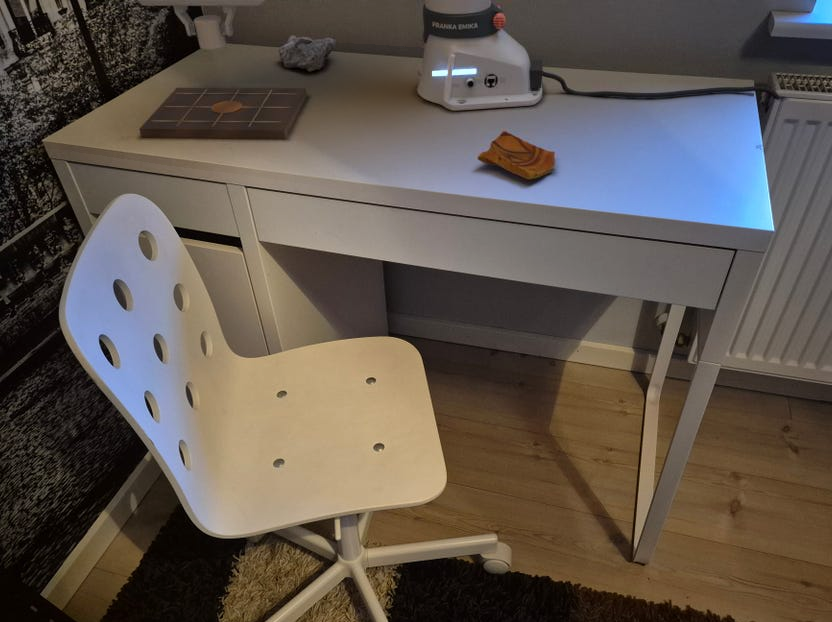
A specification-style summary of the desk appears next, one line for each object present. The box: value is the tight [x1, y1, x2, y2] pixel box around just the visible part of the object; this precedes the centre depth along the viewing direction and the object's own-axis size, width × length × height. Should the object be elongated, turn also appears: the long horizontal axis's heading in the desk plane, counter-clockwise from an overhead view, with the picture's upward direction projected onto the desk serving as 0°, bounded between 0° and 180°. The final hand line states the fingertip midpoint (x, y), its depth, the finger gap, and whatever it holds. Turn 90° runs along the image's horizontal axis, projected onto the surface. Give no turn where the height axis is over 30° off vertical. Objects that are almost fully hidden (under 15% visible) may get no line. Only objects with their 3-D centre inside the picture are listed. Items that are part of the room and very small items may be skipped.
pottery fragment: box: [477, 130, 556, 180], centre depth 97 cm, size 10×5×10 cm
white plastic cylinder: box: [193, 14, 227, 51], centre depth 106 cm, size 4×4×4 cm
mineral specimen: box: [277, 34, 337, 72], centre depth 132 cm, size 6×11×12 cm
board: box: [139, 87, 308, 140], centre depth 115 cm, size 24×18×2 cm
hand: (210, 35), depth 107 cm, fingers closed on white plastic cylinder, 4 cm apart
